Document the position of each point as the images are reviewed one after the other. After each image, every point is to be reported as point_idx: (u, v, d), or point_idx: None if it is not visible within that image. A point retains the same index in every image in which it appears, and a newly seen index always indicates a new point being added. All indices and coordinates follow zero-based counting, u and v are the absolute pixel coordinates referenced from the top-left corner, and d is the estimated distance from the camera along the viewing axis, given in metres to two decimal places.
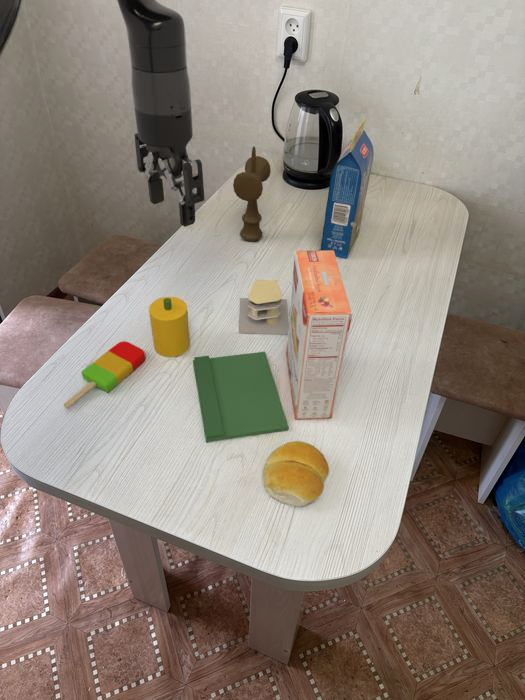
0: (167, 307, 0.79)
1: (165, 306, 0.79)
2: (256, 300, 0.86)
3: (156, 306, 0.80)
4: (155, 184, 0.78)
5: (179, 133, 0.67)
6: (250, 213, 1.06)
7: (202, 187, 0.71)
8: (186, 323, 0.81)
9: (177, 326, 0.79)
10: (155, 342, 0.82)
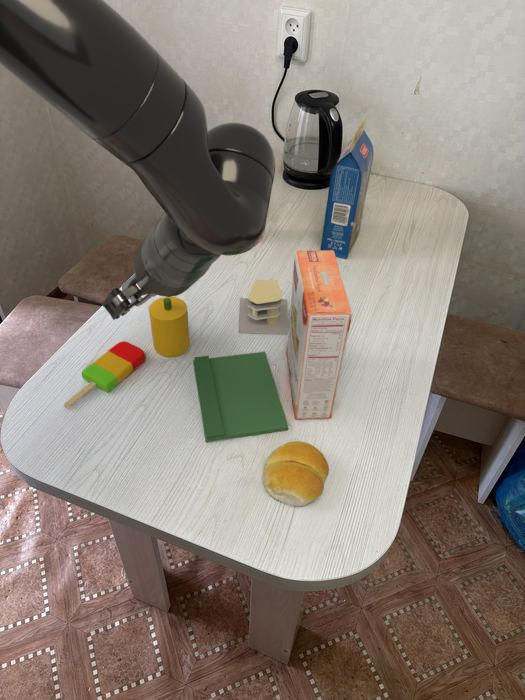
0: (167, 307, 0.79)
1: (165, 306, 0.79)
2: (256, 300, 0.86)
3: (156, 306, 0.80)
4: None
5: (142, 278, 0.58)
6: None
7: (115, 314, 0.62)
8: (186, 323, 0.81)
9: (177, 326, 0.79)
10: (155, 342, 0.82)
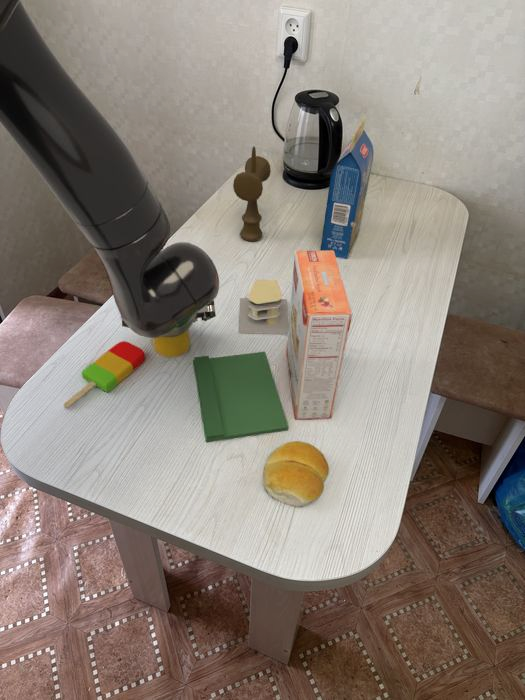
0: None
1: None
2: (256, 300, 0.86)
3: None
4: None
5: None
6: (250, 213, 1.06)
7: None
8: None
9: None
10: (155, 342, 0.82)
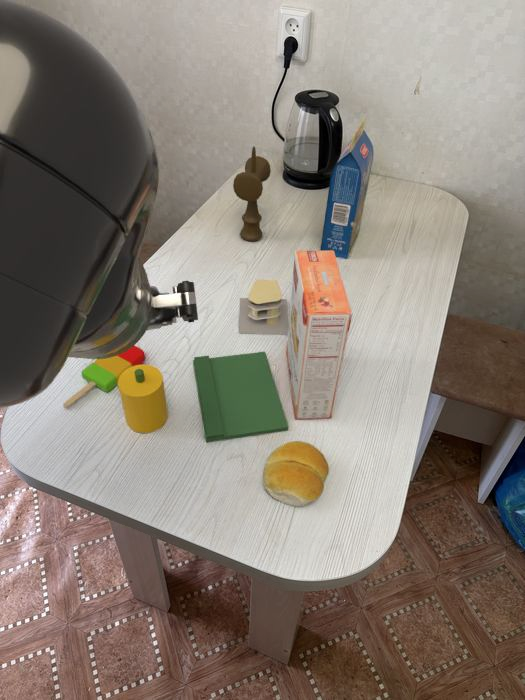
0: (139, 380, 0.68)
1: (137, 378, 0.68)
2: (256, 300, 0.86)
3: (127, 377, 0.69)
4: None
5: None
6: (250, 213, 1.06)
7: None
8: (162, 396, 0.70)
9: (150, 401, 0.68)
10: (126, 416, 0.71)
